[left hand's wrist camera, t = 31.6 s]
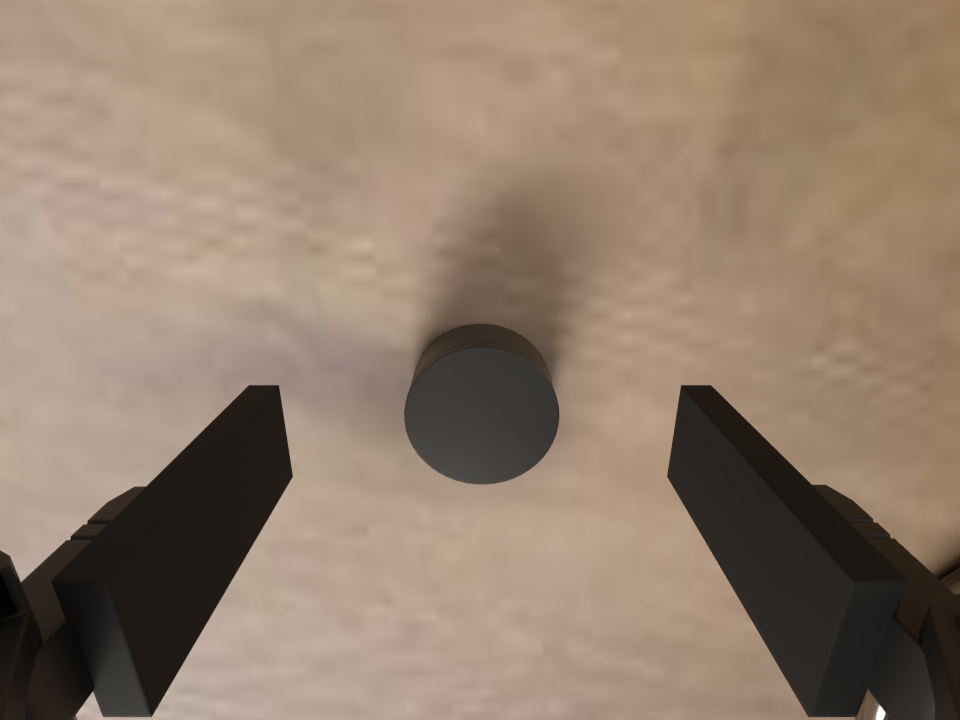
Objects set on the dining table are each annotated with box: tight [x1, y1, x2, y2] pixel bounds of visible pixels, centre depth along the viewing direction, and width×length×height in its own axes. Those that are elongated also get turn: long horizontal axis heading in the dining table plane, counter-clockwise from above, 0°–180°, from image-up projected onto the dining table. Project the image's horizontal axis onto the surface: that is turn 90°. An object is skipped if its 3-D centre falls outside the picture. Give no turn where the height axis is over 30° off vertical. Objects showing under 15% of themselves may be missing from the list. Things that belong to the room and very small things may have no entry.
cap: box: [404, 324, 559, 484], centre depth 15 cm, size 4×4×2 cm
